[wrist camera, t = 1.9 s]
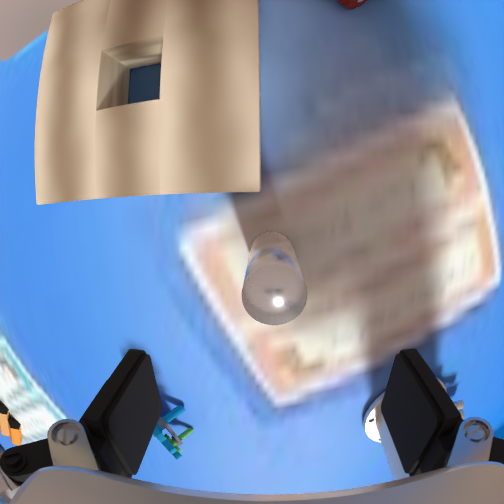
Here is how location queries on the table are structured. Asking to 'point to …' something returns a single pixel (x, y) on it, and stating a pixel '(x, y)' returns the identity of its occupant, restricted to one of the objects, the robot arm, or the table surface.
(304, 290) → the steel peg
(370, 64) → the table surface
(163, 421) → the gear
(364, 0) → the toy fire truck
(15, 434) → the pan flute
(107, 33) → the hole block
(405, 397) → the robot arm
